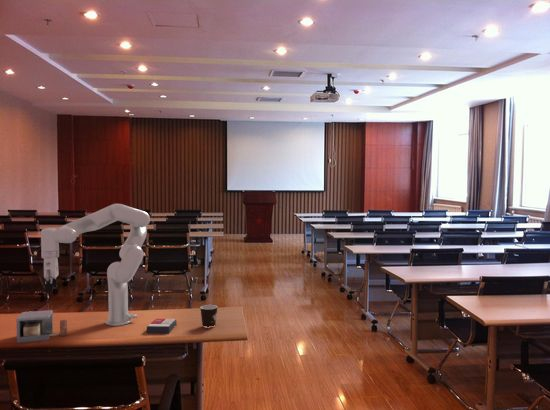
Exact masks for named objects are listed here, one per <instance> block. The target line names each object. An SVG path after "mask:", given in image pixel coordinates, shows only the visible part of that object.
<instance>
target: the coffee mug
mask: <svg viewBox="0 0 550 410" xmlns="http://www.w3.org/2000/svg"><path fill="white" fill-rule="evenodd" d="M199 309H200V315H201V325H203V326H207V327H209V326H214V325H215V326H216V325H217V324H216V322H217V317H218V315H217V313H218V306H217V305H215V304H205V305H202V306H200V308H199ZM203 326H202V327H203Z"/></svg>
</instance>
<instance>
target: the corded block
mask: <svg viewBox="0 0 550 410" xmlns="http://www.w3.org/2000/svg"><path fill="white" fill-rule="evenodd" d="M23 331H24V336H31V335H41V334H40V323H32V324H26V325H25V326H24V328H23ZM54 336H60V337H65V336H68V320H67V319H60V321H59V333H50V334H49V337H54Z"/></svg>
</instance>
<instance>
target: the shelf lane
mask: <svg viewBox="0 0 550 410" xmlns="http://www.w3.org/2000/svg"><path fill="white" fill-rule="evenodd" d="M53 311H54V310H52V309H49V310H37V311H32V310H31V311H23V312H21V313H20V314H19V315H18V317H16V318H15V319H16V343H17V344H19V343H31V342H42V341H49V340H50V336H49V335H50V334H54V333H53V332H54V329H53V328H54V323H53V321H54V319H53V318H54V317H53V316H54V315H53V314H54V313H53ZM32 323H40V335H31V336H24V331H23V328H24V326H25V325H26V324H32Z"/></svg>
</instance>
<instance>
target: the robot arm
mask: <svg viewBox="0 0 550 410" xmlns="http://www.w3.org/2000/svg"><path fill="white" fill-rule="evenodd" d="M117 221H119V222H121V223H124V224H128V225H129V226H130V232H129V234H128V236H127V238H126V240H124V243H123V244H122V246H121V248H120V250H119V253H118V255H119V258H120V259H121V260H120V261H115V262H112V263H111V264H110V265H109V266H108V267H107V270H106V276H107V277H106V278H107V286H108V287H107V288H108V319H106V320H105V325H106V326H112V327H113V326H114V327H118V326H124V325H128V324H130V323H131V322H132V319H137V318H138V314H135V313H129V291H128V290H129V288H128V282H130V281H131V280H132V279H133V277H134V276H135V275H136V273H137V271H138V269H139V268H140V267H139V266H140V265H141V263H142V262H143V258H144V250H143V249H142V246H143V244H144V242H145V240H146V238H147V233H148V228H147V226H148V225H149V224H150V222H151V216H150V215H149V213H148V212H146V211H144V210H141V209H137V208H134V207H131V206H128V205H125V204H122V203H112V204H111V205H108V206H106V207H104V208H102V209H99V210H96V211H95V212H93V213H90V214H88V215H85V216H83V217H81V218H78V219H75V220H73V221H70V222H68V223H66V224H64V225H61V226H60V227H59V228H58V229H57V228H54V227H48V228H42V229H41V231H40V241H41V242H40V245H41V246H40V248H41V251H40V252H41V259H43V277H44V279H45V280H44V281H45V282H44V292H45V293H53V292H54V288H57V287H58V285H57V284H58V283H57V281H58V279H57V277H58V276H59V273H60V272H59V261H58V258H59V257H60V245H59V243H60V244H62V243H63V244H71V243H73V242H75V241H76V239H77V237H78V236H79V235H82V234H84V233H87V232H93V231H97V230H100V229H103V228H105V227H106V226H108V225H110V224H113V223H115V222H117Z"/></svg>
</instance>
